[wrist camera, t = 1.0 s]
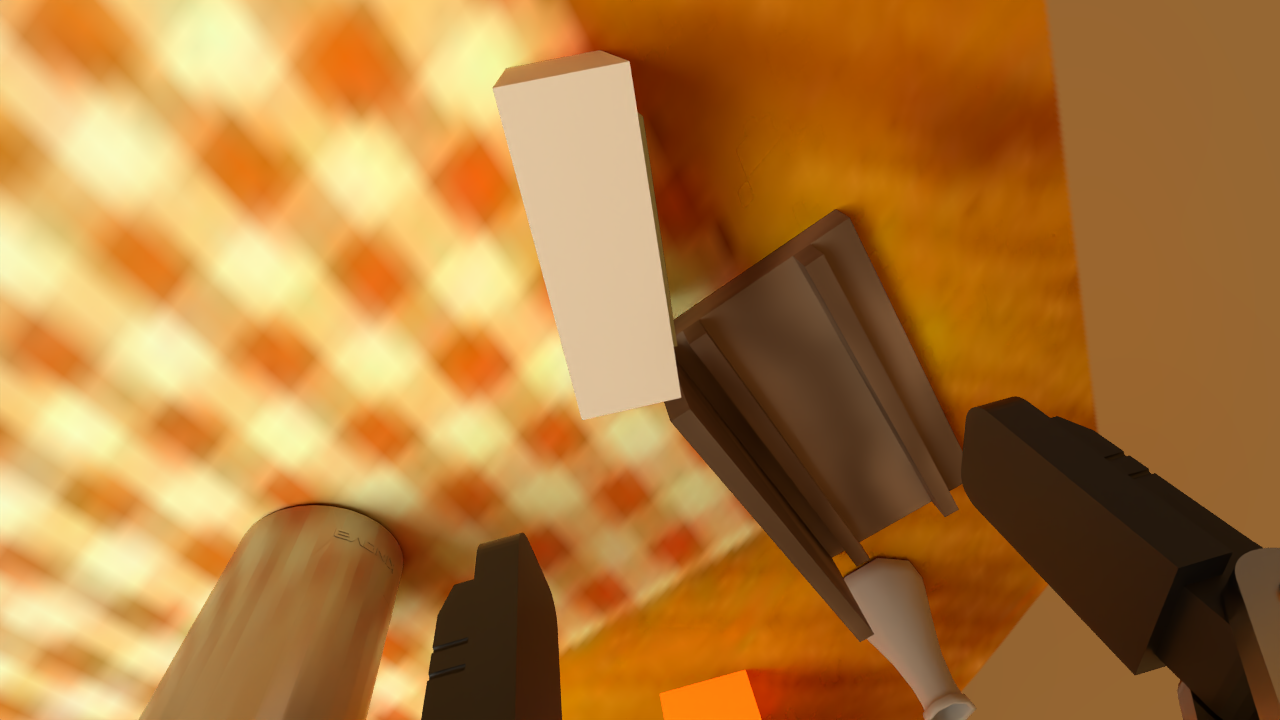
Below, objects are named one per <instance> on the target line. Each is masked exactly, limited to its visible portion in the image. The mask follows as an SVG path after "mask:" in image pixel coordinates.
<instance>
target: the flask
mask: <svg viewBox="0 0 1280 720" xmlns="http://www.w3.org/2000/svg"><path fill="white" fill-rule="evenodd" d="M844 581H845V582H846V584H847V586H848V588H849V590H850V591H851V593H852V595H853V597H854V599H855V600H856V602H857V604H858V606H859V608H860V609H861V611H862V613H863V615H864V617H865V618H866V620H867V622H868V624H869V626H870V627H871V629H872V631H873V633H874V635H872V636H870V637H868V638H867V640H869V641H870V642H871V643H872V644H873V645H874V646H875V647H876V648H877V649H878V650H879V651H880V652H881V653H882V654H883V655H884V656H885V657H886V658H887V659H888V660H889V661H890V662H891V663H892V664H893V665H894V666H895V667H896V669H897V670H898V671H899V673H900V674H901V675H902V676H903V678H904V679H905V680H906V681H907V683H908V684H909V685H910V687H911V688H912V689H913V691H914V692H915V694H916V696H917V697H918V699H919V701H920V702H921V704H922V706H923V708H924V712H923V716H924V719H925V720H967V718H968V717H969V716H970V715H971V714H972V713H973V712H974V711H975V710H976V707H975V705H974V704H973V703H972V702H971V701H970V700H969V698H968V697H967V696H966V695H965V694H962V693H961V692H960V690H959V689H958V687H957V685H956V684H955V682H954V680H953V679H952V676H951V674H950V672H949V669H948V667H947V665H946V663H945V660H944V658H943V656H942V653H941V650H940V646H939V642H938V639H937V635H936V631H935V628H934V624H933V620H932V616H931V612H930V607H929V603H928V598H927V594H926V590H925V586H924V582H923V578H922V577H921V575H920V574H919V573H918V572H917V570H916V569H915V568H914V566H913V565H912V564H911V563H910V561H908V560H897V559H885V558H876V559H875V560H873V561H871V562H870V563H868V564H866V565H865V566H863V567H861V568H860V569H858V570H856V571H855V572H853V573H851V574H850V575H848V576H846V577H845V578H844Z"/></svg>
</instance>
